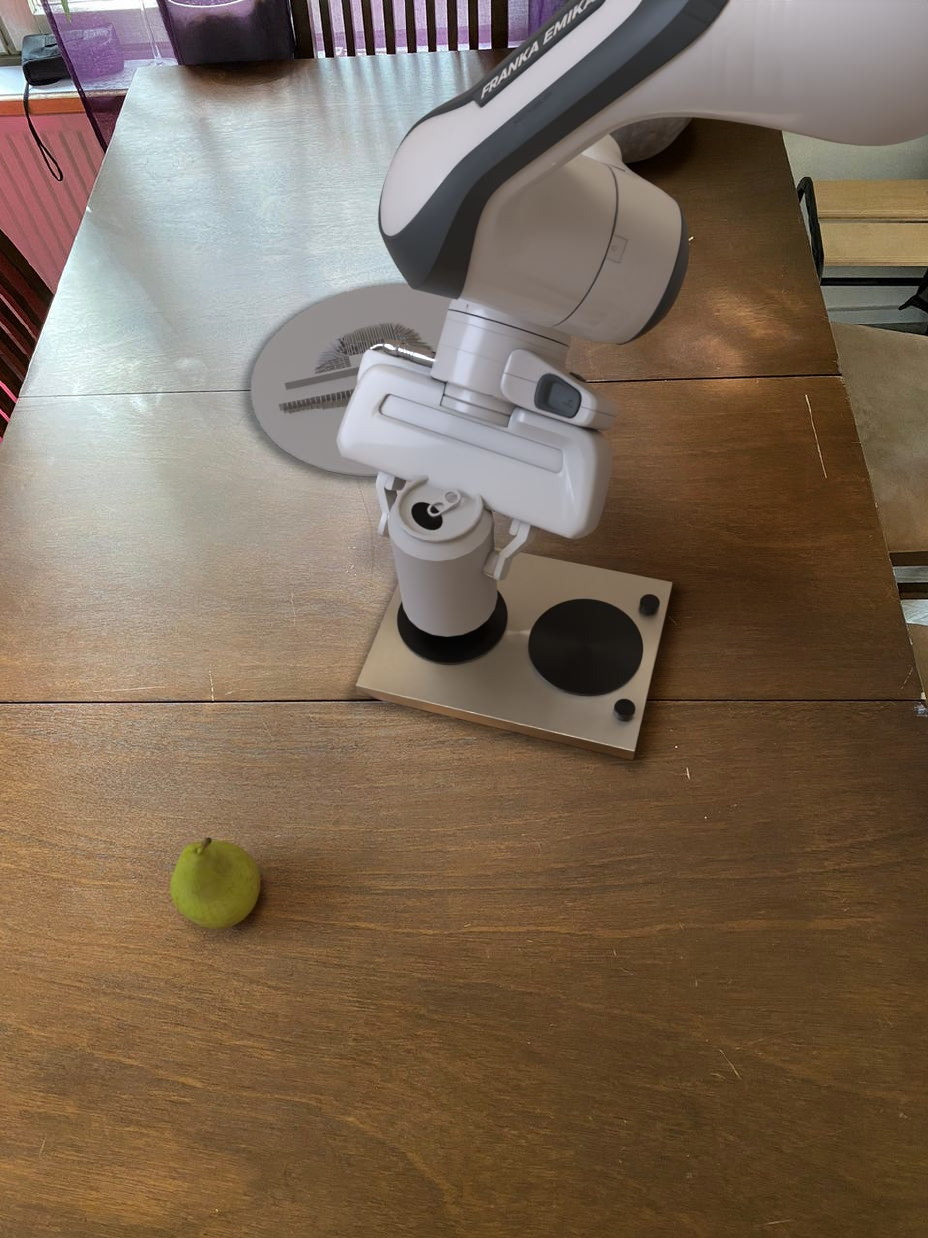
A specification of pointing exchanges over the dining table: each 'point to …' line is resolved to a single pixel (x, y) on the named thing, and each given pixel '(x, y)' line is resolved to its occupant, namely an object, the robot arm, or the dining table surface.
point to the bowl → (647, 137)
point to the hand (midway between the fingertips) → (441, 557)
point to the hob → (535, 656)
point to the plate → (334, 365)
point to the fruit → (215, 883)
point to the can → (442, 558)
